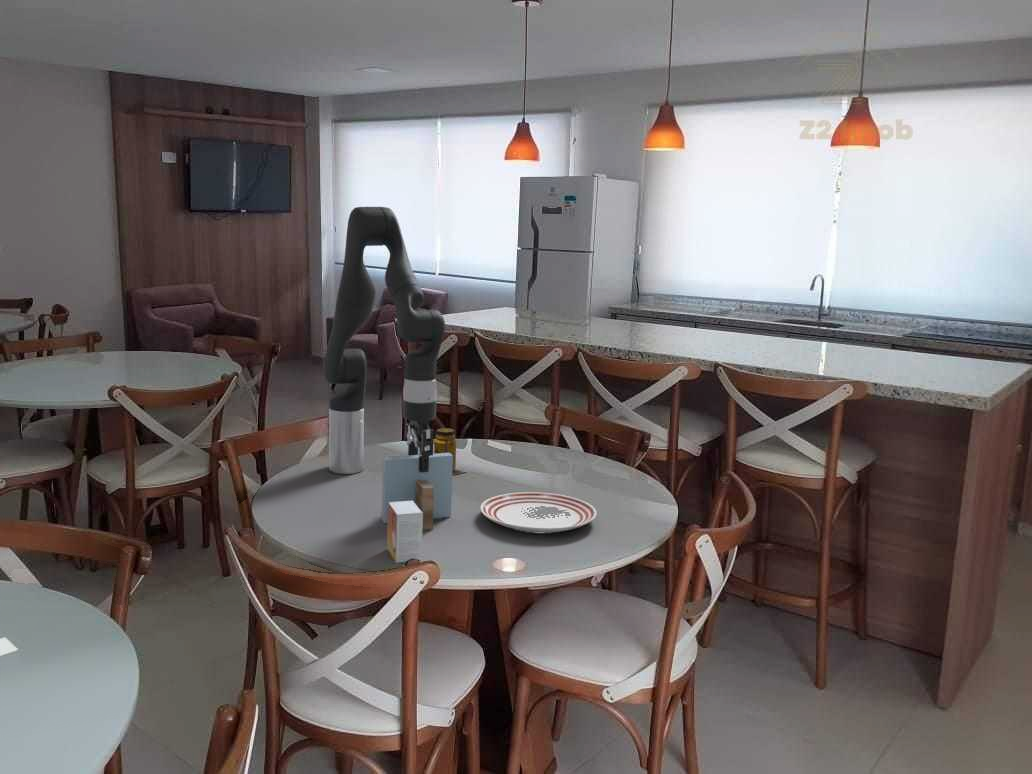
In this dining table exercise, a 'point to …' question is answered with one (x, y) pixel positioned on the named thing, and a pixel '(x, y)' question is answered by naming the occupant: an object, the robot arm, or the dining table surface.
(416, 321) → the robot arm
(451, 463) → the light blue square panel
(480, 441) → the dining table surface
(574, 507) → the dinner plate
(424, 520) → the walnut block
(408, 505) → the small box
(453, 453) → the condiment
